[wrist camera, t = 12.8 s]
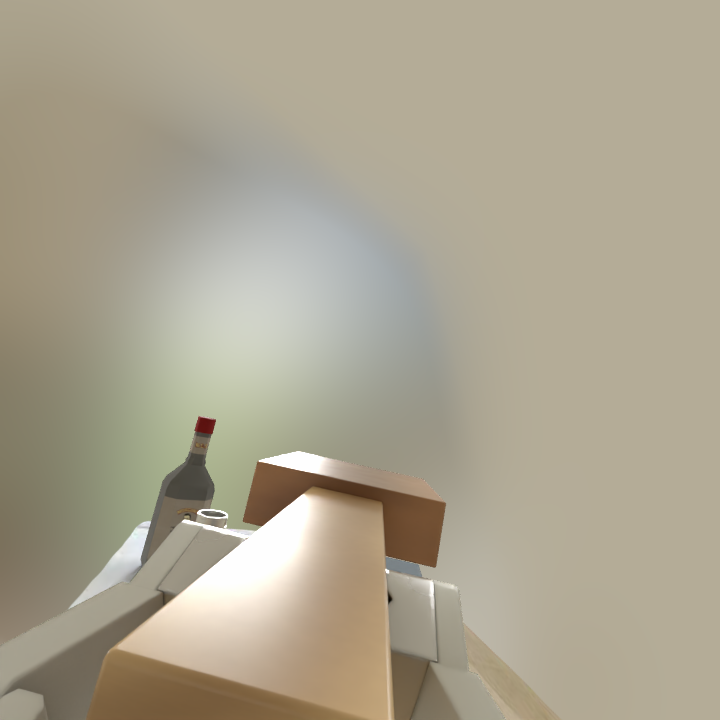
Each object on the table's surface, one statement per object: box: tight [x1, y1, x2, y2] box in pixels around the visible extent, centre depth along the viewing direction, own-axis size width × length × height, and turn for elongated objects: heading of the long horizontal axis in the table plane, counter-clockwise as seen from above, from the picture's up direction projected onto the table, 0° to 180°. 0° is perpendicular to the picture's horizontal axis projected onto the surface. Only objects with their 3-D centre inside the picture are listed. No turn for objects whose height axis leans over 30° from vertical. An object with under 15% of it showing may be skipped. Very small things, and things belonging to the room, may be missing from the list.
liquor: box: [141, 416, 216, 567], centre depth 77 cm, size 9×9×30 cm
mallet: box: [86, 452, 446, 720], centre depth 13 cm, size 8×20×2 cm, turn 177°
